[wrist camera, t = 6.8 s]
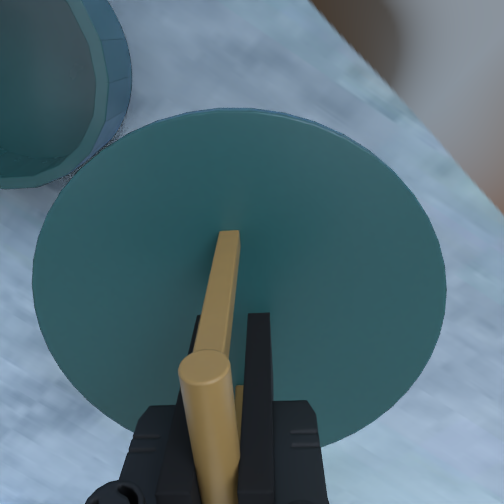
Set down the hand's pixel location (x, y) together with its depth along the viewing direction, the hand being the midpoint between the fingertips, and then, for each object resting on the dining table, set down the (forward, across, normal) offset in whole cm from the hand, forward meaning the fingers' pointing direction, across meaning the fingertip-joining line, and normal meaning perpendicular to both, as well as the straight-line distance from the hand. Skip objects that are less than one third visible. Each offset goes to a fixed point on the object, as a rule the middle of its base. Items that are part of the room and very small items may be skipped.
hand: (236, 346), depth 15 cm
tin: (+21, -15, +9) cm, 27 cm away
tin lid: (+2, 0, 0) cm, 2 cm away
